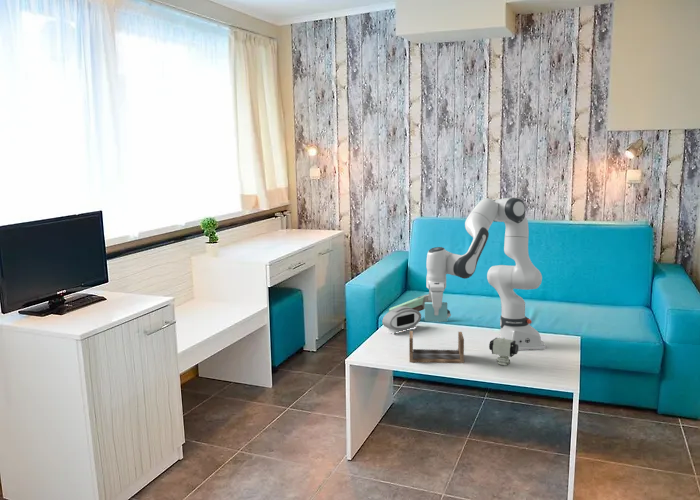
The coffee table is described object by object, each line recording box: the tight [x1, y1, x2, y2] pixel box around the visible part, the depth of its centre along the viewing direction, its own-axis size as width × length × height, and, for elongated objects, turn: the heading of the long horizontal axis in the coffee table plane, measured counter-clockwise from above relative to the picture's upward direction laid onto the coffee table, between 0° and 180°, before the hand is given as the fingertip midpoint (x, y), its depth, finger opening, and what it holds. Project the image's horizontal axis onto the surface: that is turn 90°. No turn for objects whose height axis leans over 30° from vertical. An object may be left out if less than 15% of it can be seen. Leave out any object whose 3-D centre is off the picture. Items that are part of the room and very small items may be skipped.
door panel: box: [424, 301, 448, 322], centre depth 269 cm, size 10×4×8 cm, turn 84°
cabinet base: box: [408, 330, 465, 364], centre depth 271 cm, size 24×12×11 cm, turn 84°
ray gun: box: [388, 291, 452, 323], centre depth 339 cm, size 7×32×20 cm, turn 82°
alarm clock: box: [382, 307, 422, 333], centre depth 318 cm, size 23×6×13 cm, turn 129°
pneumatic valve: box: [488, 337, 519, 367], centre depth 261 cm, size 6×12×12 cm, turn 55°
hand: (436, 313), depth 269 cm, fingers closed on door panel, 3 cm apart
